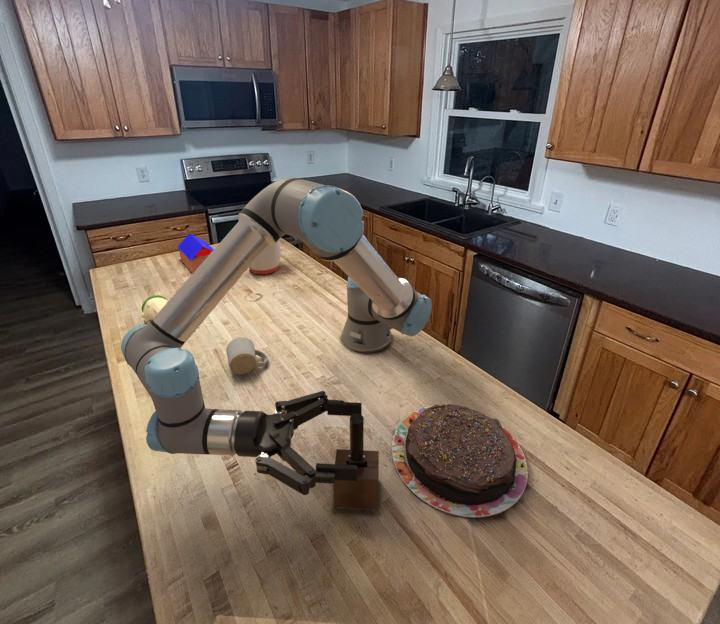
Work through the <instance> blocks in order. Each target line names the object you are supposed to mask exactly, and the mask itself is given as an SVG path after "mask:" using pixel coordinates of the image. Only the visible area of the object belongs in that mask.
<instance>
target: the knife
mask: <svg viewBox="0 0 720 624" xmlns="http://www.w3.org/2000/svg"><path fill="white" fill-rule="evenodd" d="M364 422H365V419H364V416H363V415H362V414H358V413H355V414H353V415H351V416H349V450H350V455H348V465H357V467H365V456H364V455H363V450H364V441H365V439H364V434H365V433H364V432H365V431H364V430H365V429H364V428H365V427H364V425H365V423H364Z"/></svg>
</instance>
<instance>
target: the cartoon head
mask: <svg viewBox="0 0 720 624" xmlns="http://www.w3.org/2000/svg"><path fill="white" fill-rule="evenodd" d="M168 301H169V300H168V299H167V298H166V297H165V296H163V295H159V294H155V295H151V296H148V297H147V298H146V299H145V300H144V301H143V303H142V305H141V315H140V316H141V318H142V319H143V320H144V321H145V325H148V324H149V322H150V321H151V320H152V319H153V318H154V317H155V316H156V315H157V314H158V312H159V311H160V310H161V309H162V308H163V307H164V306H165V304H166V303H167V302H168Z"/></svg>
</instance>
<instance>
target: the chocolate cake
mask: <svg viewBox="0 0 720 624" xmlns="http://www.w3.org/2000/svg"><path fill="white" fill-rule="evenodd" d="M404 446H405V447H404ZM404 448H405V449H404ZM404 450H405V452H404ZM405 456H406V457H405ZM391 458H392V463H393V465H394V468H395V470H396V473H397V475H398V476H399V478H400V479H401V481H402V482H403V484H404V486H406V487H407V488H408V490H409V491H410V492H411V493H412V494H413V495H414V496H415V497H417V498H418V499H420V501H422V502H423V503H425V505H426V504H427V505H429V506H430V507H431V508H434V509H437V510H438V511H440V512H444V513H447V514H450V515H451V516H454V517H459V518H467V519H484V518H485V517H486V518H487V517H503V514H502V513H503V512H505V511H508V510H509V509H511V508H512V507H514V506H516V505H517V503H518V502H519V501H520V499H521V497H522V495H523V494H524V493H525V489H526V488H527V484H528V478H529V476H530V475H529V465H528V461H527V458H526V454H525V453H524V451H523V449H522V447H521V445H520V444H519V442H518V441H517V439H516V438H515V437H514V436H513V435H512V434H511V432H509V430H507V428H506V427H504V426H503V425H502V424H501V422H500V420H499V419H498V418H493V417H491V416H489V415H487V414H485V413H483V412H481V411H479V410H476V409H474V408H471V407H467V406H462V405H458V404H454V403H447V404H433V405H428V406H425V407H421V408H419V409H416V410H414V411H411V412H410V413H409V414H407V416H405V417H404V418H402V420H401V421H400V422H399V424H398V425H397V427H396V428H395V430H394V433H393V436H392V438H391ZM406 460H407V461H406Z"/></svg>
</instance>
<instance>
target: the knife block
mask: <svg viewBox="0 0 720 624" xmlns="http://www.w3.org/2000/svg"><path fill="white" fill-rule="evenodd" d="M335 451H336V452H335V458H334V464H342V465H348V455H350V449H341V448H336V450H335ZM363 455H364V456H365V467H357V481H344V480H335V483H332V489H333V508H338V509H339V508H340V509H341V508H342V509H357V510H358V509H359V510H375V511H376V510H377V511H378V502H379V471H380V470H379V469H380V468H379V465H380V462H379V461H380V452H379V450H366V449H365V450H364V449H363Z"/></svg>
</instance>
